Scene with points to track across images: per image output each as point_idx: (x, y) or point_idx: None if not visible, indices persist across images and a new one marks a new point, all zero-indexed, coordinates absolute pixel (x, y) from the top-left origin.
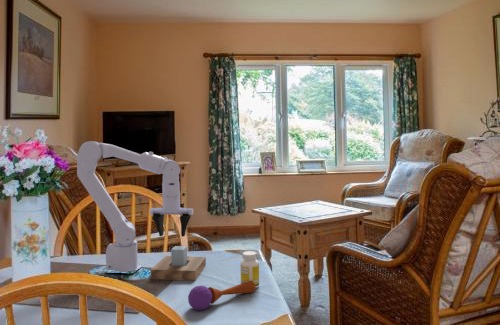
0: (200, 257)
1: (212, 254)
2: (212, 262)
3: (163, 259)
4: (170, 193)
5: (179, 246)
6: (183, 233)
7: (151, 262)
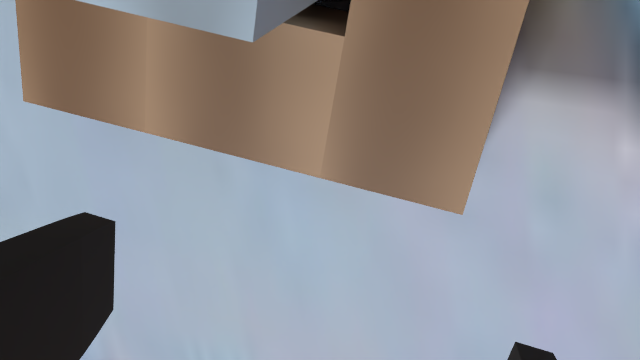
0: (68, 92)
1: (96, 345)
2: (48, 155)
3: (480, 77)
4: None
5: (175, 5)
6: (35, 232)
7: (627, 265)
